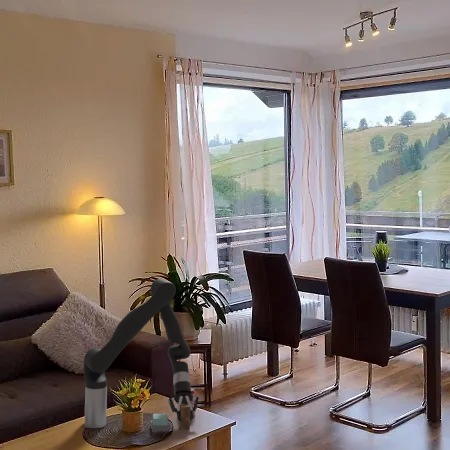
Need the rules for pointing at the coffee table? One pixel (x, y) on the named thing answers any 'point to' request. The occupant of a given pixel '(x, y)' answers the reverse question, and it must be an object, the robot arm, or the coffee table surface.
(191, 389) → the soda can
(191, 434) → the coffee table surface
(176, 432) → the coffee table surface
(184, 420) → the pillar
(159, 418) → the tower top
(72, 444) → the coffee table surface
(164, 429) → the tower base
